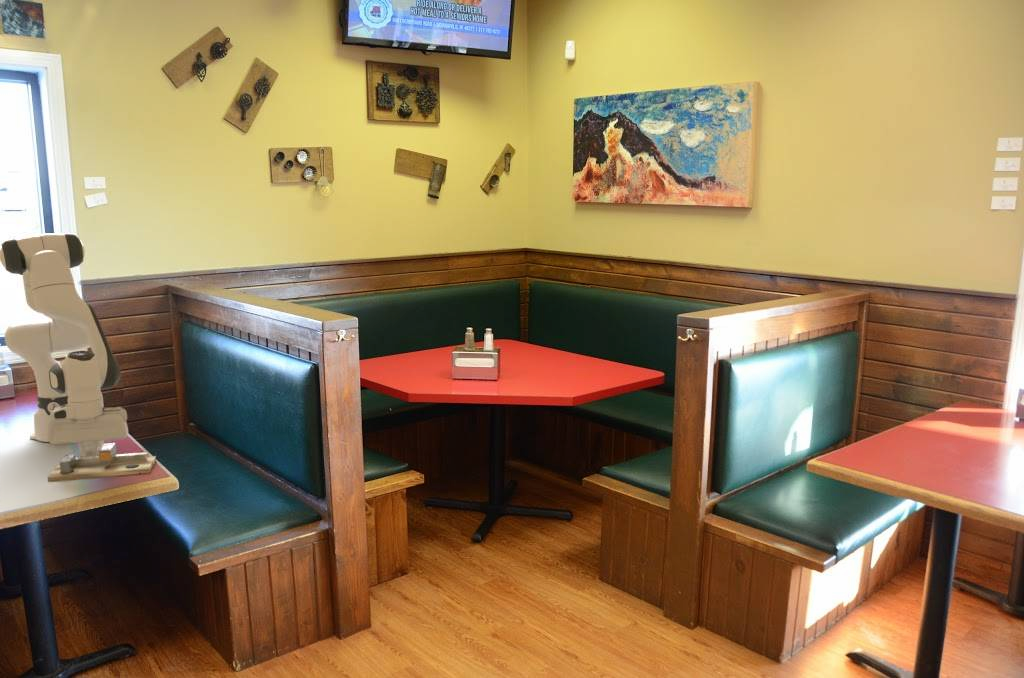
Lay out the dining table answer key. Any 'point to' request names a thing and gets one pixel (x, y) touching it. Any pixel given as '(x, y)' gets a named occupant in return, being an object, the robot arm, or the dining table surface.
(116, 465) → the hole board
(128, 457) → the trammel bar
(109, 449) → the block
